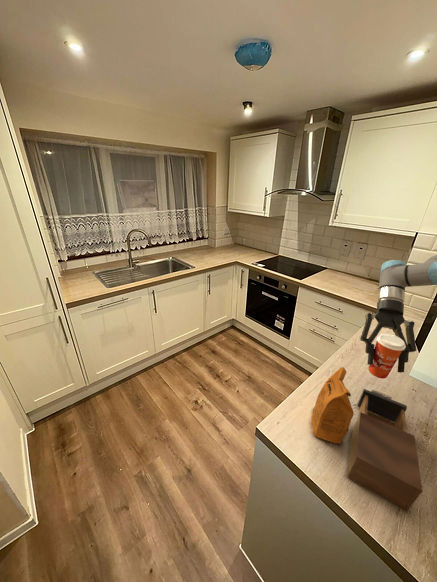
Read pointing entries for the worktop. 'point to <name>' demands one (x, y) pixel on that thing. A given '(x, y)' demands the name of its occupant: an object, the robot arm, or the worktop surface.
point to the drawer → (383, 408)
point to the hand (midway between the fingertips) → (385, 367)
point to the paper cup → (386, 354)
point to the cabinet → (385, 461)
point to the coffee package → (332, 409)
